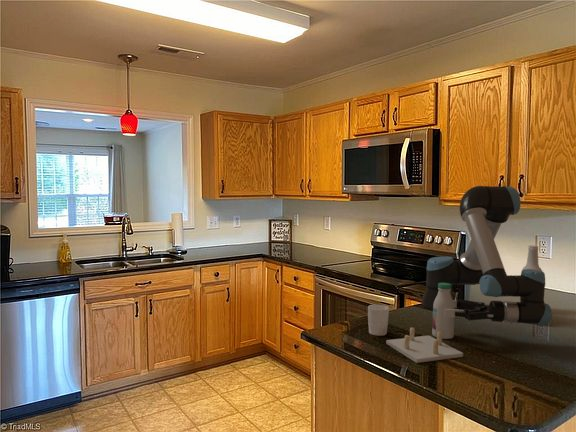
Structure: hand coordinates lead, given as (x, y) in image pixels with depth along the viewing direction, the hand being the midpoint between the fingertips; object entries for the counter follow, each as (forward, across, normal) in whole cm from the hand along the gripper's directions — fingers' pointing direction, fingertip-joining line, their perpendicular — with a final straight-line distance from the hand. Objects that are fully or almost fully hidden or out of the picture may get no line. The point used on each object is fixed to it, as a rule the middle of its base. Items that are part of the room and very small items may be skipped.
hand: (441, 307), depth 161 cm
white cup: (+23, -2, -11) cm, 26 cm away
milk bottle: (-1, 0, -11) cm, 11 cm away
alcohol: (-47, +48, -11) cm, 69 cm away
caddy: (+8, -16, -11) cm, 21 cm away
